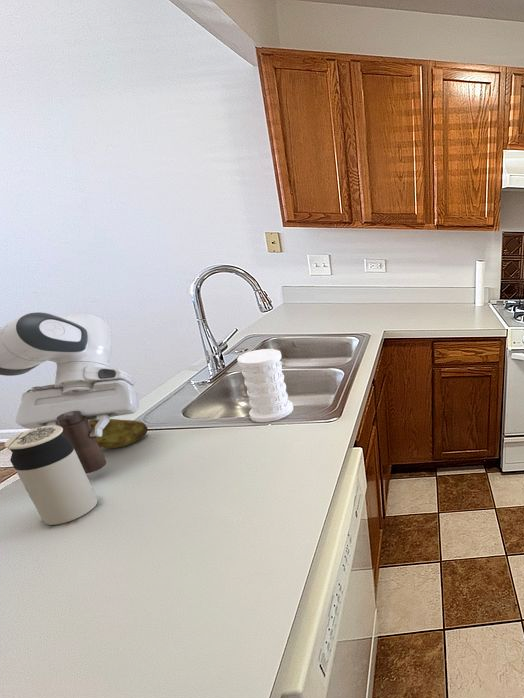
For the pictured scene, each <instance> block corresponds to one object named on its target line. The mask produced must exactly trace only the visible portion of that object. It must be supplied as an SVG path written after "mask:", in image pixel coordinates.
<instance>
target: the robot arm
mask: <svg viewBox="0 0 524 698" xmlns="http://www.w3.org/2000/svg"><path fill="white" fill-rule="evenodd" d="M112 347H113V337H112V331H111V328H110V325H109V324H108V322H106V320H104V319H103V318H102V317H99V316H96V315H94V314H90V313H85V312H84V313H83V312H78V313H72V314H69V315H68V314H67V315H54V314H52V313H47V312H39V311H38V312H30V313H26V314H24V315H22V316H20V317H17V318H15V319H13V320H12V321H10V322H8V323H6V324H5V325H3V326H0V376H6V377H7V376H8V377H11V376H12V377H14V376H20V375H21V376H22V375H24V374H27V373H29V372H30V371H32V370H34V369H35V368H36V367H38V366H39V365H41V364H43V363H45V362H47V361H48V362H53V363H55V365H56V371H55V379H54V384H47V385H42V386H38V385H37V386H33V387H31V388H30V389H28V390H26V391H24V392H23V393H22V394H21V400H20V404H19V407H18V409H17V413H16V416H15V423H16V424H17V425H18V426H19V427H22V428H25V429H28V430H31V429H34V428H38V427H43V426H51V425H57V424H58V421H57V419H56V418H57V417H58V416H59V415H61V414H64V413H67V412H71V411H80V412H81V413H82V416H83V417H84V416H86V417H87V419H88V421H89V420H93V419H97V420H99V422H98V423H97V424H96V426H95V427H94V428H91V429H90V431H89V432H90V433H89V436H90V437H92V438H95V437H101V436H102V431H103V429H104V428H105V426H106V425H107V424H108V423H109V421H110V419H111V418H112V417H113V418H114V417H120V416H125V415H133V414H135V413H137V411H138V410H139V409H140V398H139V392H138V389H137V388H136V387H134V386H135V385H136V379H135V378H134V377H133V376H132V375H130V374H129V373H127V372H126V371H124V370H121V369H118V368H111V365H110V358H111V355H112Z"/></svg>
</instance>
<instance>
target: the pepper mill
mask: <svg viewBox="0 0 524 698" xmlns="http://www.w3.org/2000/svg"><path fill="white" fill-rule="evenodd" d="M56 419H57V421H58V424H57V425H56V426H61V427H62V428H63V431H62V435H63V437H65V438H67V439H69V440H70V441H71V443H72V445H73V447H74V450H75V452H76V454H77V456H78V458H79V460H80V462H81V465H82V467H83V469H84V471H85V473H86V475H87V474H92V473H94V472H97V471H99V470H101V469H103V468H104V467H106V465H107V463H108V462H107V460H106V457H105V456H104V453H103V451H102V449H101V448H102V447H100V446H99V444H98V442H97V439H96V437H95V438H92V437H90V436H89V433H90V432H89V431H90V429H91V426H90V424H89V420H88V419H87V417H86V416H84V417H83V416H82V413H81V412H80V411H71V412H67V413H64V414H61V415H59V416H58V417H57V418H56Z"/></svg>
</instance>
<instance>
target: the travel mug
mask: <svg viewBox="0 0 524 698" xmlns="http://www.w3.org/2000/svg"><path fill="white" fill-rule="evenodd" d="M62 431H63V428H62V427H61V426H56V425H51V426H43V427H38V428H34V429H28V430H25V431H22V432H19V433H18V434H17V433H16V435H13V436H12V437H10V438H8V439H7V440H6V441H5V442H4V447H5V448H6V449H8V450H9V451H10V452H11V456H10V460H9V461H10V463H11V465H12V467H13V468H14V471H15V472H16V474H17V476H18V478H19V479H20V481H21V483H22V485H23V487H24V488H25V490H26V492H27V494H28V496H29V498H30V500H31V501H32V503H33V505H34V507H35V508H36V509H35V510H36V511H37V512H38V515H39V516H40V518H41V520H42V521H43V523H44V524H45V525H48V526H49V525H50V526H52V525H62V524H65V523H68V522H71V521H74V520H77V519H78V518H81V517H83V516H84V515H86V514H87V513H89V512H90V511H92V510H93V509H94V508H95V507H96V505H97V504H98V501H99V500H98V496H97V495H96V493H95V490H94V489H93V486H92V485H91V482H90V480H89V477H88V475H87V474H86V473H85V471H84V469H83V467H82V465H81V462H80V460H79V458H78V456H77V454H76V452H75V450H74V447H73V445H72V443H71V441H70V440H69V439H67V438H65V437H63V435H62Z"/></svg>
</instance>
